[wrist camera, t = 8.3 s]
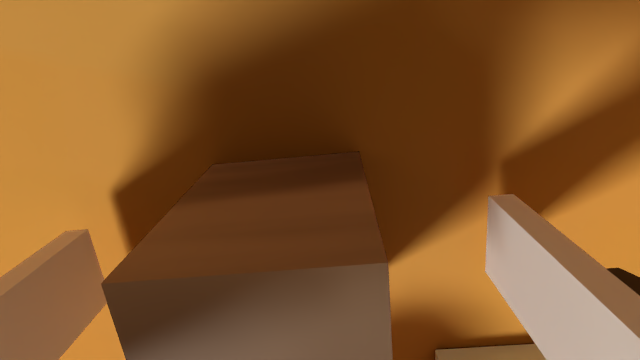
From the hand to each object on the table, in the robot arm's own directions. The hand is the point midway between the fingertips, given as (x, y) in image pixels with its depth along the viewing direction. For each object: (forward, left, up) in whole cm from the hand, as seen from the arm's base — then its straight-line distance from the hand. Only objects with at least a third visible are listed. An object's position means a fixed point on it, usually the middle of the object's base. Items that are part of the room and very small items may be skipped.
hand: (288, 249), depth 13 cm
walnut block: (0, 0, -1) cm, 1 cm away
